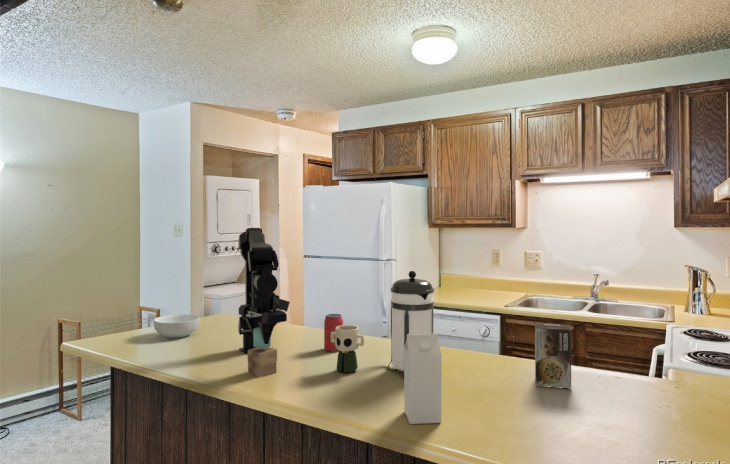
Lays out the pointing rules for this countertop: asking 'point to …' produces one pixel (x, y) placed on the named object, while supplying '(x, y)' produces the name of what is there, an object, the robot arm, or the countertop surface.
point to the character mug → (347, 346)
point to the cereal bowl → (176, 325)
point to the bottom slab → (262, 369)
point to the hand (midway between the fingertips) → (262, 342)
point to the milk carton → (422, 378)
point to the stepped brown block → (262, 356)
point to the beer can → (331, 330)
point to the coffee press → (409, 314)
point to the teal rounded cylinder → (259, 339)
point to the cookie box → (552, 355)
